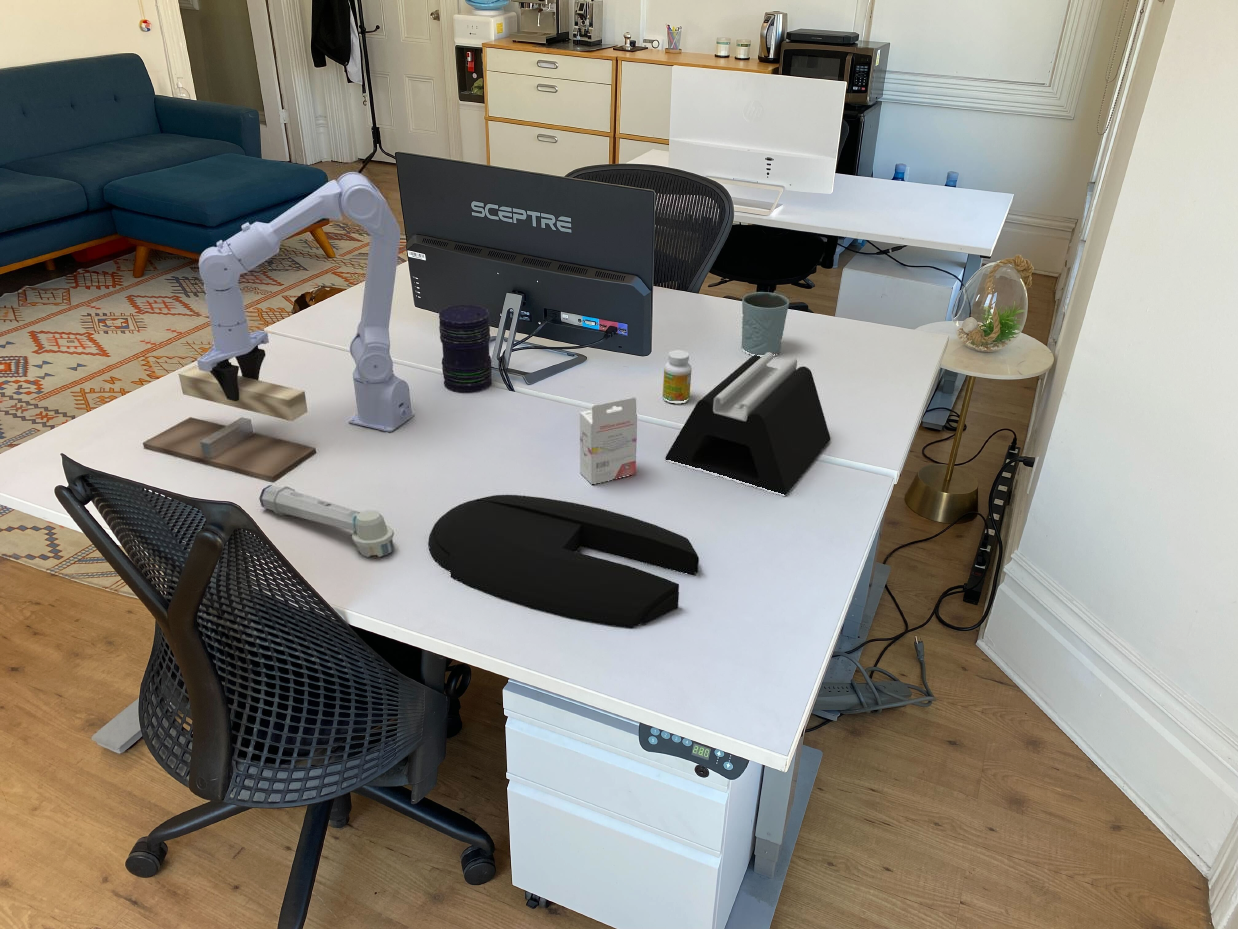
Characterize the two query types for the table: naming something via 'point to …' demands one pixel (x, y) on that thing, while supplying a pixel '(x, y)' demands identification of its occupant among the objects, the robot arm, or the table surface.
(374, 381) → the robot arm
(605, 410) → the ink cartridge box
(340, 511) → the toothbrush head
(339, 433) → the table surface
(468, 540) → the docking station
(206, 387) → the beech rod
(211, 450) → the ridge
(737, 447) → the device stand
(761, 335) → the embossed green cup
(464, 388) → the storage jar
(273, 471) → the board
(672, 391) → the supplement bottle
